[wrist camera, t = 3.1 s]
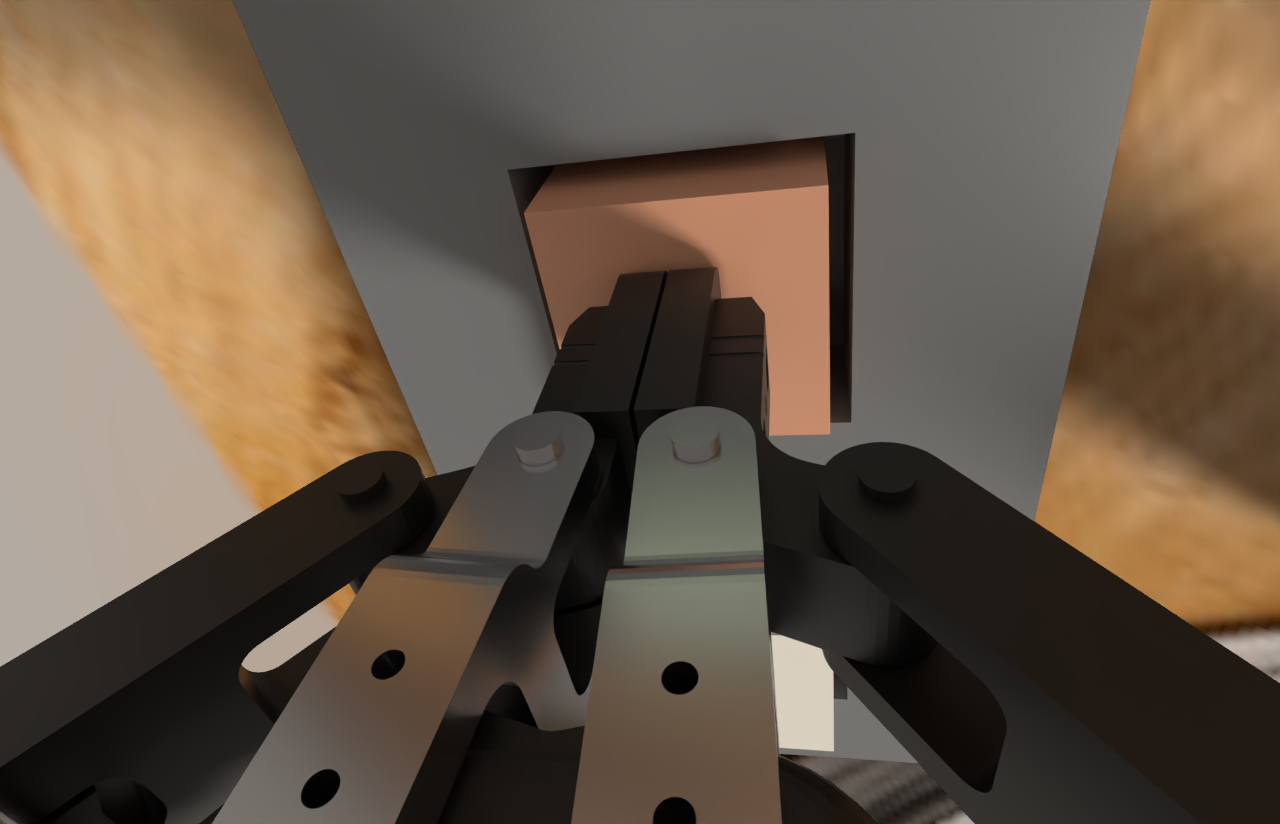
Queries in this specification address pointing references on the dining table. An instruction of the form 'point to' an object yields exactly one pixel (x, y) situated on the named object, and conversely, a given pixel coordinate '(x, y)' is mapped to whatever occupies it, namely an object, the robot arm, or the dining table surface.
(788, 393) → the button terracotta
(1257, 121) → the dining table surface
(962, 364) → the button panel
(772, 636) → the button cream
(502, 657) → the robot arm
